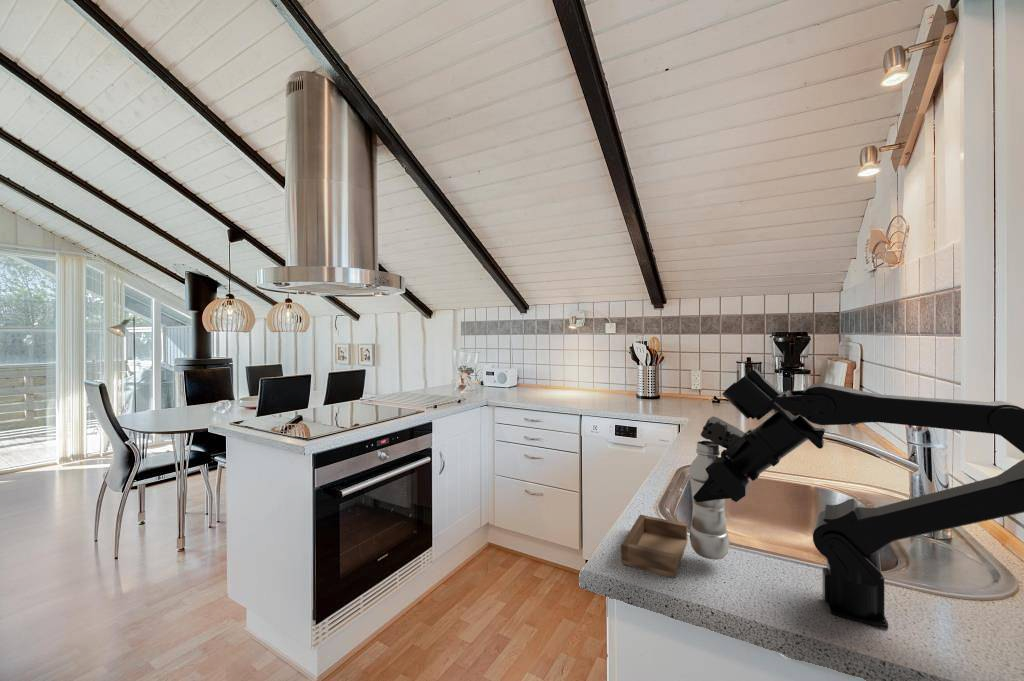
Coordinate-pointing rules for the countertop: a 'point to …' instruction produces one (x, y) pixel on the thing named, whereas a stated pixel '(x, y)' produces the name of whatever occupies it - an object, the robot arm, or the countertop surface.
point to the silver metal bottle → (707, 509)
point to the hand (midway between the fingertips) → (700, 493)
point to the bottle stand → (655, 545)
